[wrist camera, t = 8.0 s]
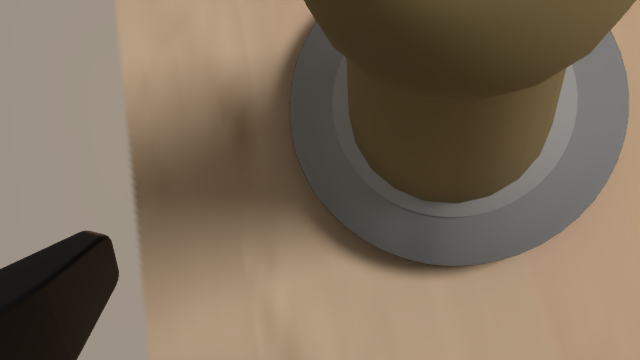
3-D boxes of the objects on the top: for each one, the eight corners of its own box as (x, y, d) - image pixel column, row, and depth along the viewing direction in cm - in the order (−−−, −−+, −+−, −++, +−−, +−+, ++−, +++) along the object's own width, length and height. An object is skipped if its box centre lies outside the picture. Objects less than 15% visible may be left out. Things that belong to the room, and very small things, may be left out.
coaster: (544, 322, 17) (550, 325, 16) (246, 189, 19) (237, 185, 18) (671, 15, 17) (683, 1, 17) (368, -77, 20) (365, -93, 19)
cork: (311, 138, 18) (136, -60, 7) (414, -23, 18) (389, -445, 8) (485, 243, 16) (581, 185, 6) (594, 66, 17) (883, -303, 6)
